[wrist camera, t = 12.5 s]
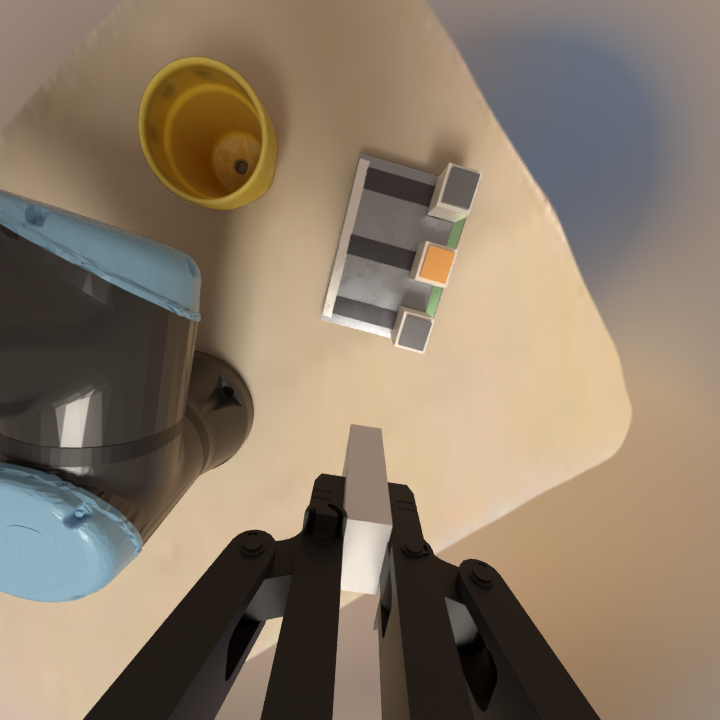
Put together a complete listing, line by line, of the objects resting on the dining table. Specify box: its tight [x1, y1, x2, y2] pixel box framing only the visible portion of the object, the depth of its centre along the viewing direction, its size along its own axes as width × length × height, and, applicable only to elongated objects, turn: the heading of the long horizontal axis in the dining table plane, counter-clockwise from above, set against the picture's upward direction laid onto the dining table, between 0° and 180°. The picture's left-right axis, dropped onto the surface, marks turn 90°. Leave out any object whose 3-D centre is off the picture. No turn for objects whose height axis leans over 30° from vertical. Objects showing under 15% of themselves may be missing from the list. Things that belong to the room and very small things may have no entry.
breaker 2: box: [409, 241, 458, 288], centre depth 34 cm, size 3×4×6 cm
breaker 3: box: [391, 306, 435, 354], centre depth 35 cm, size 3×4×6 cm
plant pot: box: [138, 56, 277, 210], centre depth 32 cm, size 10×10×10 cm
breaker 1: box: [427, 163, 483, 222], centre depth 32 cm, size 3×4×6 cm
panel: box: [321, 153, 466, 338], centre depth 37 cm, size 12×17×2 cm
